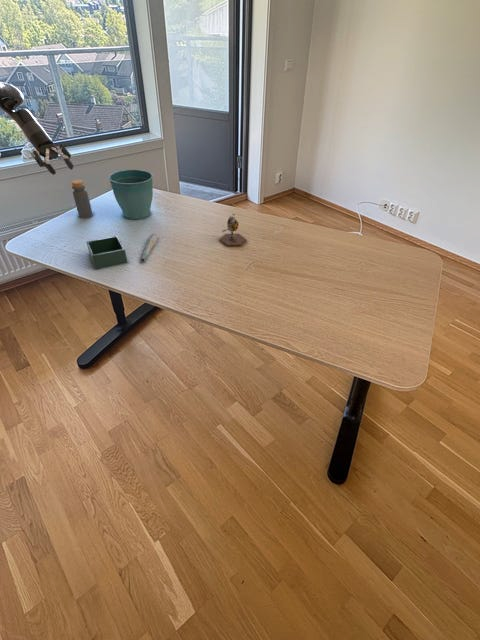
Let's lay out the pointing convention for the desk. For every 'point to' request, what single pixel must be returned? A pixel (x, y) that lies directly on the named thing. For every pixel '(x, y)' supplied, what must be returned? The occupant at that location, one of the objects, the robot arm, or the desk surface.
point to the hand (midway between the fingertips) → (63, 170)
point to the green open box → (107, 252)
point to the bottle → (81, 199)
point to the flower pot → (133, 192)
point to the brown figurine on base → (232, 238)
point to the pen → (149, 245)
